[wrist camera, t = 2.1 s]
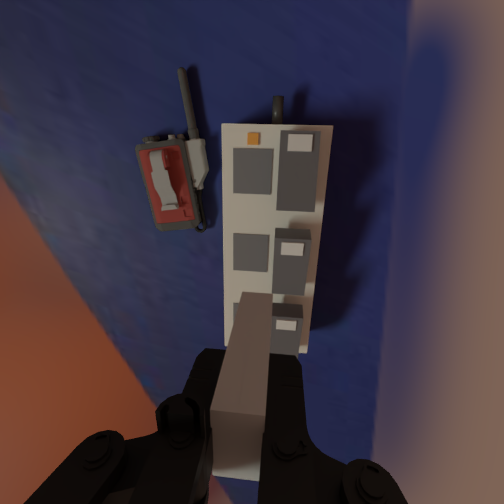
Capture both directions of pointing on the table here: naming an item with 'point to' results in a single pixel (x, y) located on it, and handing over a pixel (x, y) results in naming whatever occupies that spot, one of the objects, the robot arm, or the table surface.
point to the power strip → (264, 213)
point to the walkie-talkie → (175, 172)
